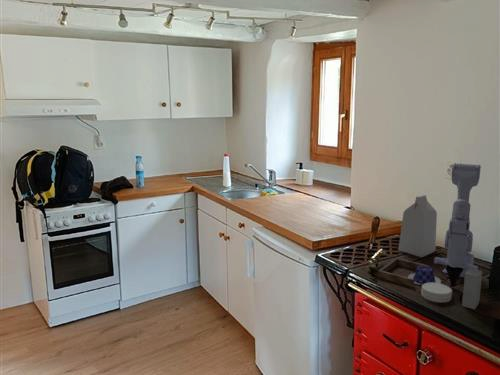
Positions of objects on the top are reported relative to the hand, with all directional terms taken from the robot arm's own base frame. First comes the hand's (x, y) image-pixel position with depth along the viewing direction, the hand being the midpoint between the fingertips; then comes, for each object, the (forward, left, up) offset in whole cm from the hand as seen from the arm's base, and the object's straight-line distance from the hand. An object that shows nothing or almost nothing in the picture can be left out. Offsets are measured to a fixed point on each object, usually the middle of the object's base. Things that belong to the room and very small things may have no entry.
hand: (453, 285), depth 160 cm
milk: (+25, -31, -1) cm, 40 cm away
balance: (+31, -1, -1) cm, 31 cm away
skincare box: (-8, +10, -1) cm, 13 cm away
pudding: (+11, 0, -2) cm, 11 cm away
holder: (+20, 0, -1) cm, 20 cm away
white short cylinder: (+3, +11, -2) cm, 11 cm away
